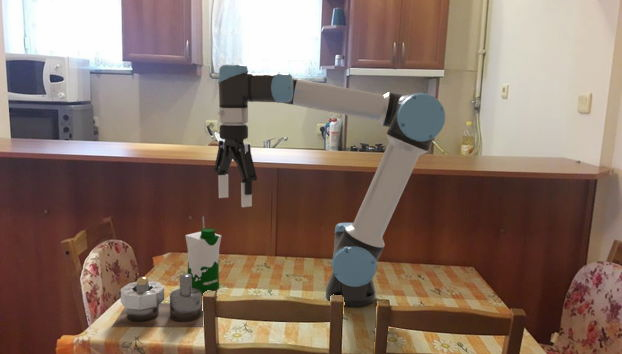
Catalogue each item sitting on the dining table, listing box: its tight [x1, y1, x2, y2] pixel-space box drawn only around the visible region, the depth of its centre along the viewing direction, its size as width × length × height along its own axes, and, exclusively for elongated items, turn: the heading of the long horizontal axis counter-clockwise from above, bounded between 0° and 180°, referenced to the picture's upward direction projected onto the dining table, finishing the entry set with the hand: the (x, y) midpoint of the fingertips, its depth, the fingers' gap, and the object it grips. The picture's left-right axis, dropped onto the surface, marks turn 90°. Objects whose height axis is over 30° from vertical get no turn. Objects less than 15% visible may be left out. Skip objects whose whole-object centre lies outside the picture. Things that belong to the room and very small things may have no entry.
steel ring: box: [120, 280, 165, 310], centre depth 126 cm, size 10×10×4 cm
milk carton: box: [185, 227, 222, 295], centre depth 145 cm, size 9×9×20 cm
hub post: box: [127, 276, 159, 322], centre depth 126 cm, size 8×8×10 cm
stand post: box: [169, 273, 202, 322], centre depth 127 cm, size 8×8×11 cm
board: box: [111, 302, 204, 328], centre depth 128 cm, size 14×24×2 cm, turn 95°
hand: (234, 202), depth 132 cm, fingers open, 13 cm apart
